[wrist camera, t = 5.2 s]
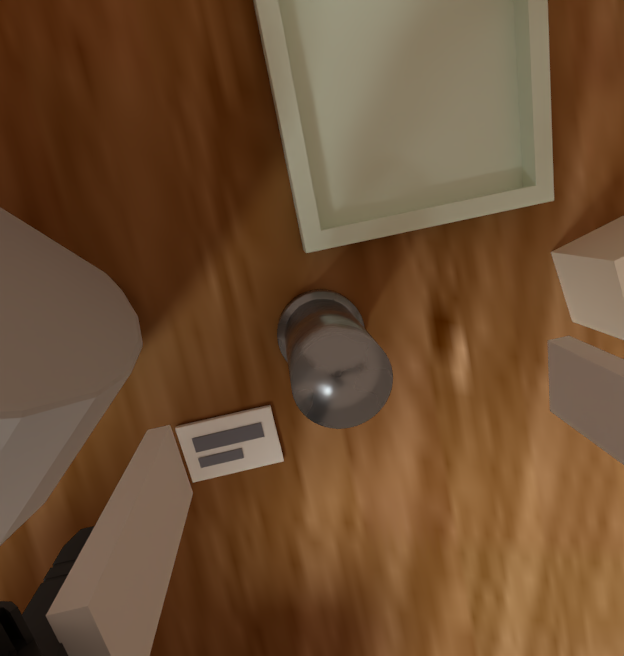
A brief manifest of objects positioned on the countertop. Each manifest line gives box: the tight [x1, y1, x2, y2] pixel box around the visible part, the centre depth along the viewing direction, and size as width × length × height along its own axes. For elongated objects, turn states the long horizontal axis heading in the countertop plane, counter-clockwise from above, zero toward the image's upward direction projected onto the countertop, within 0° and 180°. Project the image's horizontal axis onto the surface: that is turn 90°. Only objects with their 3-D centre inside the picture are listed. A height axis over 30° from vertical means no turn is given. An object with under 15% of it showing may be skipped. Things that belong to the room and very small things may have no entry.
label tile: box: [175, 405, 284, 483], centre depth 27 cm, size 6×4×1 cm, turn 101°
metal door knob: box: [277, 289, 393, 429], centre depth 22 cm, size 5×5×8 cm
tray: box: [253, 0, 554, 253], centre depth 22 cm, size 14×14×2 cm
